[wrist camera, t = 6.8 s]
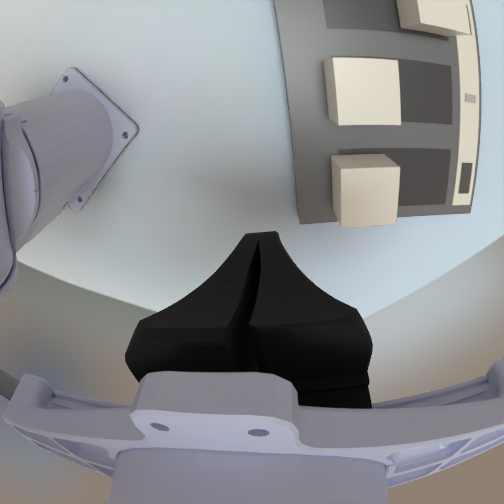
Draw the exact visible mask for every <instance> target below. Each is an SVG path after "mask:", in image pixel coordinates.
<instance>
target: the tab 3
mask: <svg viewBox="0 0 504 504" xmlns="http://www.w3.org/2000/svg"><path fill="white" fill-rule="evenodd" d="M396 1H397V7H398V13H399V19H400V26H401V28H404V29H411V30H417V31H423V32H429V33H434V34H439V35H443V36H457V35H471V33H470V26H469V19H468V13H467V8H466V2H465V0H396Z"/></svg>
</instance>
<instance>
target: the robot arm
mask: <svg viewBox="0 0 504 504" xmlns="http://www.w3.org/2000/svg"><path fill="white" fill-rule="evenodd" d="M66 77H68V81H66ZM137 130H138V128H137V125H136V124H135V123H134V122H133V121H132V120H131V119H130V118H128V117H127V116H126V115H125V114H124V113H123V112H122V111H121V110H120V109H119V108H118V107H117V106H116V105H114V104H113V103H112V102H111V101H110V100H109V99H108V98H107V97H106V96H105V95H104V94H103V93H102V92H100V91H99V90H98V89H97V88H96V87H95V86H94V85H93V84H92V83H91V82H90V81H89V80H87V79H86V78H85V77H84V76H83V75H82V74H81V73H80V72H79V71H78V70H77V69H75V68H74V67H70V68H67V69H66V71H65V72H64V74H63V75H62V77H61V78H60V80H59V82H58V83H57V85H56V87H55V88H54V90H53V92H52V93H51V95H49V96H45V97H41V98H38V99H34V100H30V101H27V102H23V103H20V104H17V105H14V106H10V107H7V108H5V105H4V103H3V102H2V101H0V302H1V301H2V300H3V299H4V298H5V297H6V296H7V294H8V293H9V292H10V290H11V289H12V287H13V285H14V283H15V280H16V277H17V273H18V272H17V271H18V263H17V258H16V254H15V253H16V252H17V251H18V250H19V249H20V248H21V247H22V246H23V245H24V244H25V243H27V242H29V241H30V240H32V239H33V238H34V237H35V236H36V235H37V234H38V233H39V232H40V231H41V230H42V229H43V228H45V227H46V226H47V225H48V224H49V223H50V222H51V221H52V220H53V219H54V218H56V217H57V216H58V215H59V214H60V213H61V212H62V211H63V210H65V209H66V208H67V207H69V208H70V209H71V210H72V211H74V212H79V211H80V210H81V209H82V207H83V205H84V204H85V202H86V201H87V199H88V198H89V196H90V195H91V193H92V192H93V190H94V189H95V188H96V186H97V185H98V183H99V182H100V180H101V179H102V178H103V176H104V175H105V173H106V172H107V171H108V169H109V168H110V167H111V165H112V164H113V162H114V161H115V160H116V158H117V157H118V156H119V155H120V153H121V152H122V151H123V149H124V148H125V147H126V146H127V144H128V143H129V142H130V141H131V139H132V138H133V137H134V136H135V134H136V133H137ZM125 132H127V133H128V138H127V137H125V135H124V133H125ZM80 197H81V198H82V200H81V199H80ZM372 347H373V344H372V340H371V337H370V334H369V331H368V329H367V327H366V325H365V323H364V321H363V319H362V317H361V315H360V314H359V312H358V310H357V309H356V308H353V307H351V306H349V305H347V304H345V303H343V302H341V301H339V300H337V299H335V298H333V297H332V296H330V295H329V294H327V293H326V292H324V291H323V290H322V289H320V288H319V287H317V286H316V285H315V284H314V283H313V282H312V281H311V280H309V279H308V278H307V277H306V276H305V275H304V274H303V273H302V271H301V270H300V269H299V268H298V267H297V266H296V264H295V263H294V262H293V260H292V259H291V258H290V256H289V255H288V253H287V252H286V250H285V248H284V247H283V245H282V243H281V241H280V238H279V234H278V233H277V232H276V231H271V232H260V233H249V234H245V235H244V237H243V238H242V239H241V241H240V242H239V244H238V245H237V246H236V248H235V249H234V250H233V252H232V253H231V254H230V255H229V257H228V258H227V259H226V260H225V262H224V263H223V264H222V265H221V266H220V267H219V268H218V270H217V271H216V272H215V273H214V274H213V275H212V276H211V277H210V278H208V279H207V280H206V281H205V282H204V283H203V284H202V285H200V286H199V287H198V288H196V289H195V290H194V291H192V292H191V293H189V294H188V295H187V296H185V297H184V298H182V299H181V300H179V301H178V302H176V303H174V304H173V305H171V306H169V307H167V308H165V309H164V310H162V311H160V312H158V313H155V314H153V315H151V316H149V317H147V318H145V319H142V320H140V321H139V323H138V325H137V327H136V329H135V331H134V333H133V336H132V338H131V341H130V343H129V346H128V348H127V351H126V353H125V361H126V363H127V365H128V367H129V369H130V371H131V372H132V373H133V375H134V376H135V378H136V379H137V381H138V382H139V386H138V389H137V392H136V396H135V399H134V402H133V405H132V406H128V405H122V404H116V403H110V402H104V401H99V400H94V399H89V398H84V397H79V396H75V395H71V394H66V393H62V392H58V391H54V389H53V388H52V387H51V386H50V384H49V383H48V382H47V381H45V380H44V379H42V378H40V377H37V376H33V375H29V374H24V375H23V377H22V379H21V381H20V383H19V385H18V387H17V388H16V390H15V392H14V394H13V396H12V398H11V400H10V403H9V405H8V407H7V409H6V411H5V413H4V415H3V420H4V421H6V422H7V423H8V424H9V425H10V426H12V427H13V428H14V429H15V430H16V431H18V432H19V433H20V434H21V435H23V436H24V437H25V438H27V439H28V440H29V441H31V442H32V443H33V444H35V445H36V446H38V447H39V448H41V449H43V450H45V451H47V452H50V453H52V454H54V455H57V456H59V457H61V458H63V459H66V460H68V461H70V462H73V463H75V464H78V465H80V466H82V467H85V468H88V469H90V470H93V471H95V472H98V473H101V474H104V475H106V476H109V477H112V481H111V485H110V489H109V493H108V497H107V501H106V504H390V503H389V494H388V488H390V487H393V486H397V485H400V484H404V483H407V482H410V481H413V480H416V479H419V478H422V477H425V476H428V475H431V474H433V473H436V472H438V471H441V470H444V469H446V468H448V467H451V466H453V465H456V464H458V463H460V462H463V461H465V460H467V459H470V458H472V457H474V456H476V455H478V454H480V453H483V452H485V451H487V450H489V449H491V448H493V447H495V446H497V445H499V444H501V443H503V442H504V357H503V358H501V359H499V360H497V361H496V362H495V363H493V365H492V366H491V367H490V368H489V370H488V372H487V374H486V375H485V376H482V377H479V378H476V379H473V380H469V381H466V382H463V383H460V384H456V385H453V386H450V387H446V388H443V389H438V390H435V391H431V392H426V393H422V394H418V395H414V396H409V397H404V398H400V399H395V400H390V401H384V402H379V403H373V404H371V399H370V394H369V389H368V385H369V376H368V372H367V371H368V366H369V363H370V359H371V355H372Z"/></svg>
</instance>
